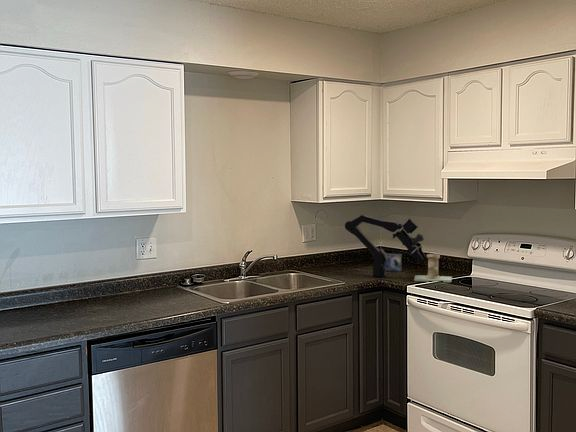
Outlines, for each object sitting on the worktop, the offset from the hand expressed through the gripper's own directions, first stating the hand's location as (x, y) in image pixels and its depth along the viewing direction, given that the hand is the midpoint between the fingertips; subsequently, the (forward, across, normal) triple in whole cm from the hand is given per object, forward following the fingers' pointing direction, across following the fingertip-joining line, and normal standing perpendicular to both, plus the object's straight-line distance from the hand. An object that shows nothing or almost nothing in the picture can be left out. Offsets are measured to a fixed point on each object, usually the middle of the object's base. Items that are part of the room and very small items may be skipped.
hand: (424, 259), depth 339 cm
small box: (-8, +22, +24) cm, 34 cm away
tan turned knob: (+10, 0, +4) cm, 11 cm away
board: (+12, 0, +4) cm, 12 cm away
